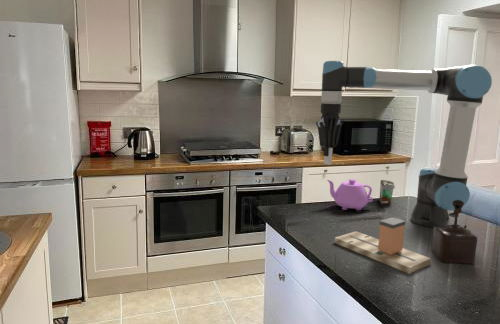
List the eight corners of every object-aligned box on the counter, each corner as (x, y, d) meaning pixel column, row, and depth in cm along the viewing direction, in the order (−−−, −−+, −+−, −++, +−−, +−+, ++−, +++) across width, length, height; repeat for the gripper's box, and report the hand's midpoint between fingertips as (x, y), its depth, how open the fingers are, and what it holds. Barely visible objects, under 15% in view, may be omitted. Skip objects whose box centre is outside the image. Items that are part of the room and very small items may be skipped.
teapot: (326, 211, 183) (328, 182, 181) (323, 202, 198) (324, 175, 196) (375, 213, 182) (378, 184, 179) (368, 204, 197) (370, 176, 194)
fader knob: (377, 249, 135) (379, 220, 133) (389, 245, 139) (392, 217, 137) (390, 255, 131) (393, 225, 129) (402, 250, 135) (405, 221, 133)
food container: (395, 206, 194) (396, 186, 192) (381, 205, 195) (383, 185, 193) (391, 199, 206) (393, 180, 204) (379, 198, 207) (380, 179, 205)
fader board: (334, 242, 147) (334, 237, 146) (355, 236, 154) (356, 230, 153) (409, 273, 123) (409, 267, 123) (430, 264, 130) (430, 258, 130)
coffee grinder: (477, 265, 130) (484, 211, 127) (442, 263, 131) (448, 210, 128) (456, 246, 146) (462, 198, 142) (425, 245, 146) (430, 197, 143)
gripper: (335, 102, 159) (331, 161, 163) (311, 102, 151) (308, 164, 156) (350, 103, 153) (346, 164, 157) (326, 103, 145) (323, 167, 150)
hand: (327, 164), depth 156 cm, fingers closed
